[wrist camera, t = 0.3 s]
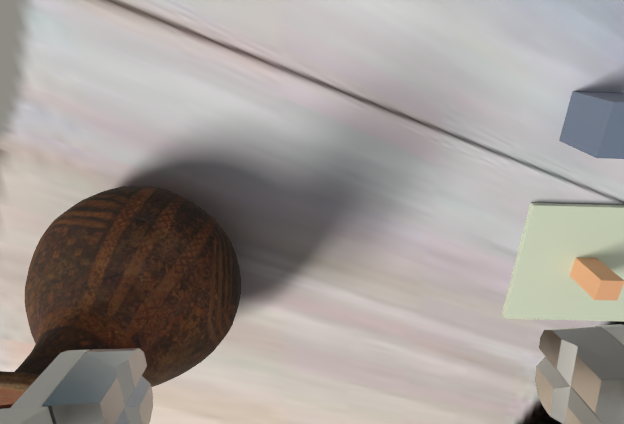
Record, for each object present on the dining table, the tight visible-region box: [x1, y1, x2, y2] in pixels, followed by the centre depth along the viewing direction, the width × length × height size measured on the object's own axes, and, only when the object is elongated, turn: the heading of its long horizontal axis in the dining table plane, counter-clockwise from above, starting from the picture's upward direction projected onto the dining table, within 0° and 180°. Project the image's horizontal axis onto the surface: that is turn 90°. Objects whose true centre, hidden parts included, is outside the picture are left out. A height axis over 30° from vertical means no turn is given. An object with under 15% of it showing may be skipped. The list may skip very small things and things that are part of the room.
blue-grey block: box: [559, 92, 624, 159], centre depth 42 cm, size 5×5×7 cm
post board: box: [502, 203, 624, 321], centre depth 50 cm, size 16×16×6 cm
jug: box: [0, 186, 241, 409], centre depth 38 cm, size 22×22×30 cm
